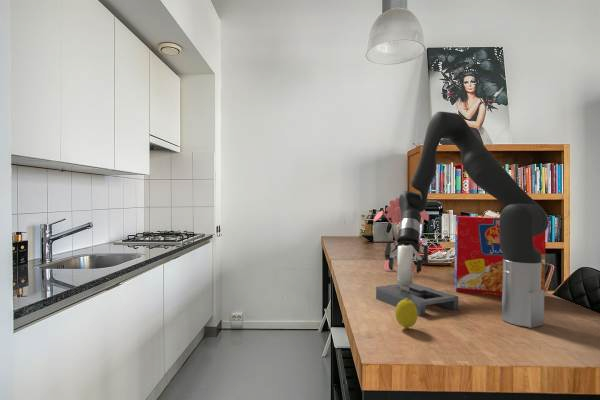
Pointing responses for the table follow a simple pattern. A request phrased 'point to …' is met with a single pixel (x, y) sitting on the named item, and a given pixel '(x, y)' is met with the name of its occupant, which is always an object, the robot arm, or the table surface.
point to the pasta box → (483, 256)
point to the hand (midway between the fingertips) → (404, 270)
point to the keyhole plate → (416, 296)
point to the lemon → (406, 313)
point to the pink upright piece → (395, 214)
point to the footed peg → (405, 267)
